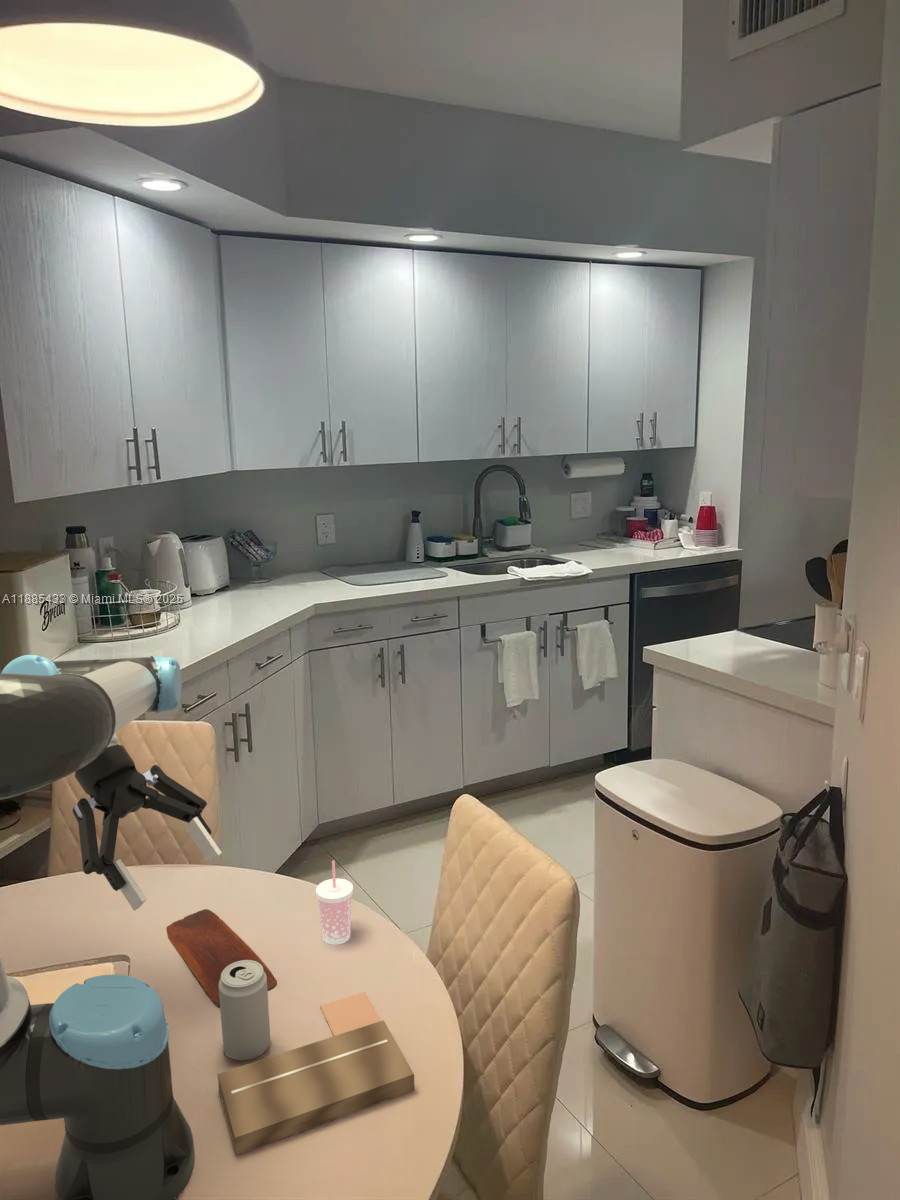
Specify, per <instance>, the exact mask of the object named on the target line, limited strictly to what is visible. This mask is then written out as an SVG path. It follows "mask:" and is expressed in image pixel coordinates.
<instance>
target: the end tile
mask: <svg viewBox="0 0 900 1200" xmlns="http://www.w3.org/2000/svg"><path fill="white" fill-rule="evenodd" d="M319 1008H320V1010H321V1012H322V1015H323V1016H324V1018H325V1021H326V1022H327V1024H328V1027H329V1029H330V1031H331V1033H332V1037H333V1036H336V1035H339V1034H342V1033H346V1032H349V1031H352V1030H355V1029H358V1028H361V1027H364V1026H367V1025H370V1024H373V1023H377V1022H380V1021H382V1020H381V1018H380V1016H379V1014H378V1013H377V1011H376V1010H375V1007H374V1005H373V1004H372V1002H371V1001H370V998H369V996H368V995H367V993H366V991H363V992H360V993H357V994H353V995H350V996H347V997H343V998H340V999H336V1000H333V1001H331V1002H330V1001H329V1002H327V1003H324V1004H321V1005H319Z"/></svg>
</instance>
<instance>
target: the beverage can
mask: <svg viewBox="0 0 900 1200" xmlns="http://www.w3.org/2000/svg"><path fill="white" fill-rule="evenodd" d="M219 997H220V1007H219V1008H220V1009H219V1011H220V1020H221V1023H220V1024H221V1035H222V1049H223V1051H224V1053H225V1055H226V1056H227V1057H228V1058H230V1059H232V1060H236V1061H243V1062H245V1061H246V1062H247V1061H252V1060H254V1059H257V1058H258V1057H260V1056H261V1055H262V1054H263V1053H264V1052H266V1050H267V1049H268V1048H269V1046H270V1044H271V1030H270V1029H271V1028H270V1009H269V991H267V976H266V974H265V972H264V971H263V967H262V965H261V964H260V963H258V962H256V961H253V960H241V961H237V962H234V963H232V964H230V965H228V966H227V967H226V968H225V969H224V970H223V971H222V973H221V979H220V981H219Z"/></svg>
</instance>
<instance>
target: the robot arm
mask: <svg viewBox="0 0 900 1200" xmlns="http://www.w3.org/2000/svg"><path fill="white" fill-rule="evenodd" d="M182 688H183V682H182V672H181V666H180V664H179V662H178V660H177V659H176V658H175V657H174V656H173V657H172V656H156V655H151V656H148V657H147V656H145V657H143V656H142V657H125V658H123V657H122V658H109V659H106V658H105V659H100V658H99V659H83V660H82V659H80V660H56V661H55V660H51V659H49V658H47V657H43V656H41V655H36V654H25V655H21V656H19V657H16V658H14V659H13V660H11V661H10V662H9V663H7V664H6V665H5V666H4V668H3V670H2V671H1V673H0V801H1V800H6V799H11V798H14V797H18V796H21V795H23V794H27V793H30V792H32V791H35V790H38V789H41V788H42V787H46V786H47V785H50V784H53V783H54V782H57V781H59V780H61V779H63V778H66V777H68V776H70V775H72V774H73V773H74V778H75V779H76V780H77V781H76V782H77V783H78V784H79V786H80V787H81V789H82V790H83V791H84V792H85V794H87V795H88V796H89V797H90V798H88V799H87V798H84V797H81V798H80V799H79V800H78V801H77V802H76V804H75V805H74V807H73V808H72V813H73V815H74V818H75V819H76V821H77V824H78V834H79V842H80V843H79V844H80V853H81V855H80V856H81V863H82V864H81V865H82V871H83V873H84V874H85V875H90V874H92V873H96V875H103V876H104V877H105V879H106V880H107V882H108V883H109V885H110V886H111V888H112V889H113V890H114V891H116V892H118V891H119V890H120V892H121V894H122V895H123V897H124V898H125V900H126V901H127V902H128V904H129V905H130V907H131V909H132V910H133V911H135V912H136V910H138V909H139V908H141V907H142V906H143V904H144V903H145V902H146V901H147V900H148V898H147V896H146V895H145V894H144V892H143V891H142V889H141V888H140V886H139V885H138V883H137V881H136V880H135V879H134V877H133V875H132V874H131V873H130V871H129V870H128V868H127V866H126V865H125V864H124V862H123V861H122V859H121V858H119V859H118V860H116V861H115V860H114V859H115V852H116V851H115V850H116V843H117V836H118V831H119V830H118V829H119V822H120V821H119V820H120V819H121V820H122V819H123V818H125V817H127V816H128V814H131V813H132V814H133V813H135V812H137V811H139V810H140V809H141V808H142V809H145V810H146V809H147V810H148V809H151V810H153V811H156V812H158V813H161V814H163V815H167V816H169V817H172V818H173V819H174V818H175V819H177V820H180V821H181V822H182V821H183V822H184V823H185V822H186V823H187V824H186V825H185V826H184V829H185V830H186V831H187V833H188V834H189V836H190V837H191V839H192V840H193V841H194V844H196V846H197V847H198V849H199V851H200V852H201V854H202V855H203V856H204V858H205V859H206V861H207V862H208V864H211V863H213V862H214V861H215V860H217V859H218V858H219V856H221V855H222V854H223V851H221V849H220V848H219V846H218V845H217V843H216V842H215V841H214V839H213V837H212V836H211V835H212V829H211V828H210V827H209V825H208V824H207V822H206V821H205V819H204V818H203V817H202V813H203V811H204V810H205V808H206V807H207V805H208V803H207V801H206V800H205V799H203V798H202V797H200V796H198V795H197V794H196V793H194V792H193V791H191V790H189V788H186V787H185V786H183V785H182V784H180V783H179V782H177V781H176V780H175V779H173V778H171V777H170V776H168V775H167V774H166V773H165V772H164V771H163V770H162V769H161V767H160V766H159V765H157V764H153V765H152V766H151V767H150V769H149V770H147V771H146V772H144V773H143V774H142V773H140V772H139V771H138V770H137V769H136V765H135V761H134V760H133V758H132V757H131V755H130V754H129V752H128V750H126V748H125V747H124V745H121V744H119V743H120V739H119V737H118V736H117V735H116V733H117V732H119V731H120V730H122V729H123V728H124V727H126V726H127V725H129V724H130V723H131V722H133V721H134V720H136V719H138V718H139V717H140V716H141V715H142V716H143V714H146V713H156V714H159V713H160V712H168V711H169V712H170V711H174V710H176V709H177V708H179V706H180V704H181V699H182ZM147 785H148V786H147ZM150 786H152V787H153V788H152V787H150ZM95 809H96V810H98V811H100V812H102V813H103V816H102V824H101V825H102V832H101V838H100V845H98V836H97V829H96V820H95V819H96V818H95V813H94V812H95V811H96V810H95ZM164 1008H165V1007H164V1004H163V1001H162V998H161V996H160V994H159V993H158V992H157V990H156V989H155V988H153V987H151V986H150V984H149V983H147V982H146V981H144V980H142V979H140V978H137V977H135V976H130V975H127V974H126V975H125V974H102V975H101V974H100V975H95V976H92V977H88V978H86V979H85V980H84V981H83V983H81V984H80V983H74V984H73V985H71V986H69V987H68V988H66V989H65V990H63V992H61V994H59V996H58V997H57V998H56V999H55V1002H51V1003H50V1002H49V1003H38V1004H31V1001H30V999H29V995H28V992H27V990H26V988H25V986H24V984H22V982H20V980H18V979H17V978H15V977H12V976H10V975H7V974H6V969H5V966H4V963H3V958H2V955H1V953H0V1126H7V1125H8V1126H9V1125H15V1124H16V1125H17V1124H23V1123H33V1122H40V1121H49V1120H57V1119H63V1122H64V1128H65V1129H64V1131H65V1133H64V1134H65V1135H64V1138H63V1142H62V1145H61V1150H60V1153H59V1157H58V1162H57V1166H56V1169H55V1174H54V1188H55V1196H56V1200H175V1199H177V1197H178V1196H179V1195H180V1194H181V1192H182V1191H183V1190H184V1188H185V1186H186V1184H187V1183H188V1181H189V1179H190V1178H191V1175H192V1172H193V1169H194V1165H195V1157H196V1156H195V1145H194V1137H193V1133H192V1128H191V1126H190V1125H189V1122H188V1121H187V1119H186V1117H185V1116H184V1113H183V1112H182V1110H181V1109H180V1106H179V1105H178V1103H177V1101H176V1100H175V1098H174V1091H173V1080H172V1079H173V1078H172V1067H171V1057H170V1045H169V1037H170V1029H169V1027H168V1026H169V1024H168V1023H167V1019H166V1015H165V1014H166V1013H165V1009H164Z"/></svg>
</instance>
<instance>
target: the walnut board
mask: <svg viewBox="0 0 900 1200" xmlns="http://www.w3.org/2000/svg"><path fill="white" fill-rule="evenodd" d="M409 1064H410V1063H408V1061H407V1059H406V1057H405V1056H404V1054H403V1052H402V1050H401V1049H400V1047H399V1045H398V1042H396V1040H395V1038H394V1036H393V1034H392V1032H391V1031H390V1028H389V1027H388V1025H387V1024H386V1021H385V1020H384V1019H383V1020H381V1021H380V1022H377V1023H373V1024H370V1025H367V1026H364V1027H361V1028H358V1029H355V1030H352V1031H349V1032H346V1033H342V1034H339V1035H336V1036H333V1035H332V1036H330V1037H328V1038H324V1039H321V1040H318V1041H315V1042H312V1043H309V1044H306V1045H303V1046H299V1047H297V1048H293V1049H290V1050H288V1051H283V1052H280V1053H278V1054H275V1055H272V1056H269V1057H266V1058H263V1059H260V1060H256V1061H253V1062H249V1063H247V1064H244V1065H241V1066H238V1067H235V1068H231V1069H227V1070H225V1071H222V1072H219V1073H217V1081H218V1083H217V1084H218V1091H219V1096H220V1100H221V1099H222V1100H221V1102H222V1107H223V1110H224V1114H226V1115H225V1118H226V1121H227V1125H228V1129H229V1130H228V1131H229V1133H230V1137H231V1140H232V1144H233V1148H234V1151H235V1154H236V1156H238V1155H241V1154H243V1153H247V1152H248V1151H252V1150H254V1149H256V1148H260V1147H263V1146H265V1145H268V1144H271V1143H273V1142H277V1141H278V1140H281V1139H282V1140H283V1139H284V1138H287V1137H290V1136H293V1135H295V1134H298V1133H301V1132H303V1131H306V1130H309V1129H313V1128H315V1127H317V1126H320V1125H323V1124H325V1123H326V1124H327V1123H328V1122H331V1121H334V1120H336V1119H339V1118H342V1117H345V1116H348V1115H350V1114H354V1113H355V1112H358V1111H361V1110H362V1111H363V1110H364V1109H366V1108H369V1107H373V1106H375V1105H378V1104H380V1103H381V1104H382V1103H383V1102H386V1101H389V1100H391V1099H395V1098H397V1097H400V1096H402V1095H403V1096H404V1095H405V1094H409V1093H411V1092H413V1091H415V1074H414V1071H413V1070H412V1067H411V1066H410V1065H409Z"/></svg>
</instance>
